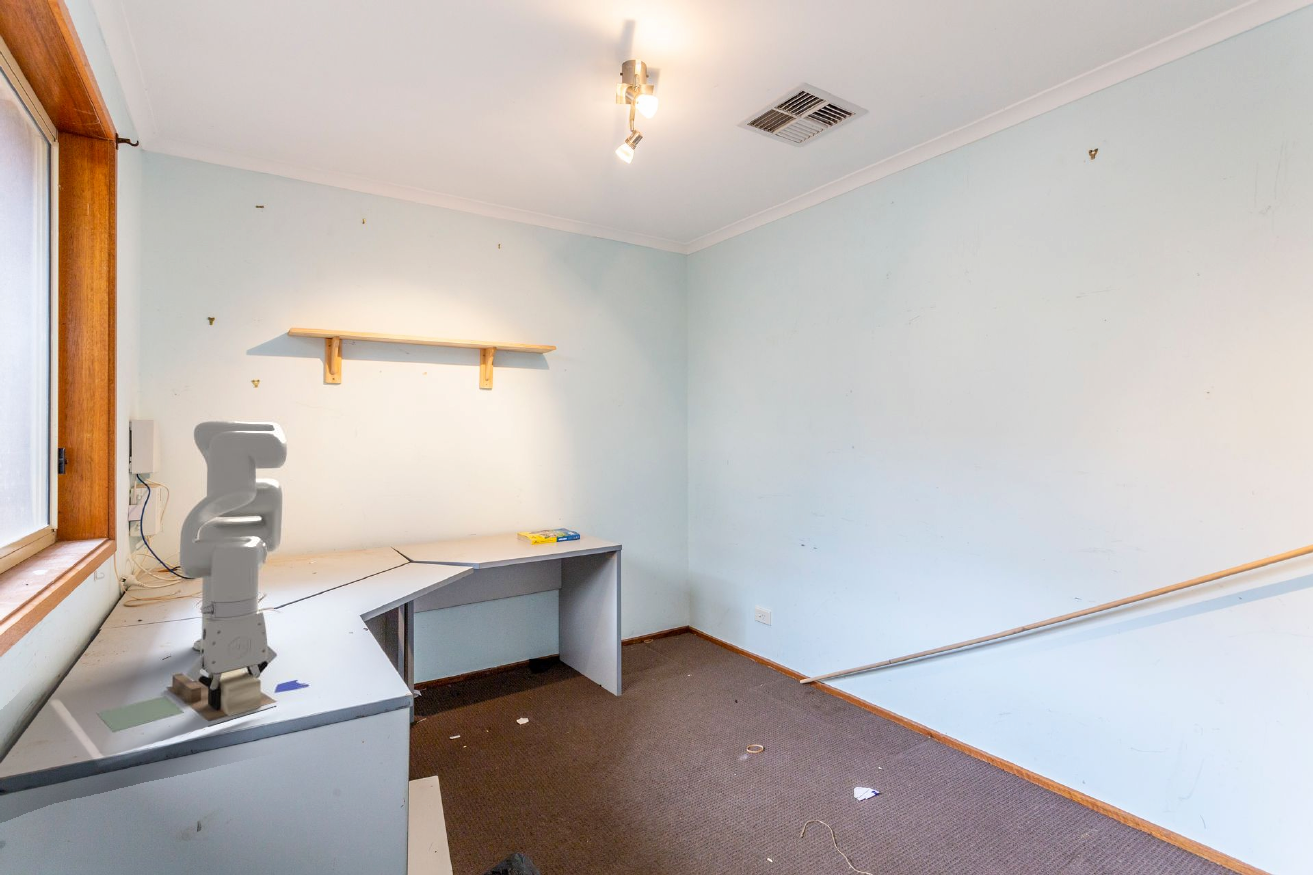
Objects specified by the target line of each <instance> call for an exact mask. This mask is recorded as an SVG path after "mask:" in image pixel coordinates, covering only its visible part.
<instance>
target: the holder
mask: <svg viewBox="0 0 1313 875" xmlns="http://www.w3.org/2000/svg"><path fill="white" fill-rule="evenodd" d="M225 673H226V672H225ZM171 677H172V680H171V681H172V683H171V685H172V686H168V687H166V689H168V690H169V691H170V692H171V693H172V694H174V696H176V697H177V698H179V699H180V700H181V701H182V702H184V703H185V704H186V705H187V706H189V707H190V708H191V709H193V711H195V712H196V713H197V714H199V715H200V716H201V717H202V718H204V719H205V720H206V721H208V722H212V721H216V720H219V719H223V718H225V717H229V716H228V715H227V714H226V713H224V712H223V711H222V710H220V709H219V710H215V709H213V708H212V707H211V706H209V705H208V687H207V686H205V685H204V684H202V683H200V682H198V681H195V680H193V679H191V678H189V677H187V676H186V675H185V674H183V672H181V673H177V674H174V675H172V676H171ZM276 702H277V701H276V700H275V699H274V698H272V697H271V696H268V695H267V694H265V692H262V691H260V707H264V706H267V705H270V704H273V703H276ZM273 708H277V705H274V706H270V707H267V708H264V709H260V710H257V711H254V712H251V713H246V714H244V715H240V716H236V717H234V718H231V719H227V720H224V721H221V722H217V723H215V724H211V725H208V726H207V727H208V728H210V727H213V726H216V725H220V724H222V723H225V722H226V723H227V722H229V721H233V720H236V719H240V718H243V717H246V716H250V715H252V714H256V713H259V712H263V711H266V710H271V709H273Z"/></svg>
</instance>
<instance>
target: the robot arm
mask: <svg viewBox="0 0 1313 875" xmlns="http://www.w3.org/2000/svg"><path fill="white" fill-rule="evenodd" d="M193 438H194V443H195V445H196V447H197V449H198V450H199V452H200V453H201V454H202V457H203V458H204V460H205V463H206V469H207V470H206V473H207V474H206V475H207V476H206V496H205V497H204V498H202V500H200V501H199V502H198V503H197V504H196V505H195V506H194V507H193V508H192V509H191V510H190V512H189V513H188V514H187V515H186V517H185V518H184V520H183V523H182V526H181V531H180V540H179V541H180V542H179V544H180V545H179V567H180V571H181V572H182V574H183V575H184V576H185V577H187V578H190V579H202V591H201V593H202V594H201V596H202V598H201V600H202V601H201V602H202V603H201V605H202V606H201V609H200V610H201V638H199V639H197V640H196V641H195V642H194V643H193V649H195V650H196V651H200V654H199V657H198V659H197V660H196V661H195V662H194V663H193V665H192V666H191V667H190V668H189V669H188V671H187V672H186V675H185V676H186V677H188V678H189V679H190V680H192V681H198V682H200V683H202V684H204V685H205V686H207V687H208V705H209V706H211V707H212V708H213V709H215V710H219V709H220V708H221V689H220V688H219V681H220V678H221V675H222V673H225V672H230V671H234V670H238V669H242V670H243V669H246V672H247V673H249V674H250V675H252V676H254V677H255V678H257V679H258V678H261V674H262V673H263V672H264V670H265V669H266V668H267V667H268V666H269V665H270V663H271V662H273V660H275V659H276V658H277V656H278V654H277V653H276V652H275V651H274V650H273V648H271V647H270V646H269V645H268V636H267V628H266V627H267V626H266V619H265V615H264V612H263V610H259V608H258V607H259V571H260V570H261V569H262V567H263V565H264V564H266V562H267V558H268V554H269V553H273V552H275V551H276V550H277V549H278V548H279V547H280V545H281V543H280V542H281V537H282V520H283V519H282V518H283V516H282V515H283V490H282V487H281V484H279V482H278V481H277V480H275V479H271V478H257V472H256V470H258V469H279V468H281V467H283V466H284V464H285V463H286V460H287V455H288V453H287V452H288V447H287V441H286V438H285V435H284V433H283V431H282V428H281V427H280V425H279V424H277V423H274V422H259V421H258V422H253V421H252V422H250V421H249V422H247V421H228V420H227V421H224V420H221V421H219V420H218V421H217V420H216V421H214V420H213V421H204V422H200V423H198V424H197V425H196V426H195V428H194V430H193ZM217 517H218V518H219V519H215V518H217ZM213 519H214V520H213ZM202 670H205V673H207V676H206V675H205V674H202V673H200V672H201V671H202Z"/></svg>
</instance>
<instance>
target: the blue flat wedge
mask: <svg viewBox="0 0 1313 875" xmlns="http://www.w3.org/2000/svg"><path fill="white" fill-rule="evenodd" d="M298 681H299V680H298V679H294V680H290V681H285V682H282V683H278V684H276V687H275V690H274V694H277V693H283V692H289V691H290V692H291V691H296V690H302V689H303V690H304V689H305V688H309V687H310V684H309V683H308V684H306V683H305V682H304V683H300V682H298Z"/></svg>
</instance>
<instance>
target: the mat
mask: <svg viewBox="0 0 1313 875" xmlns="http://www.w3.org/2000/svg"><path fill="white" fill-rule="evenodd" d="M184 713H185V712H184V711H183V710H182V709H181V708H180V707H179V706H178V705H177V704H175V703H174V702H173V701H171V699H169V698H168V697H167V696H166V695H164V696H159V697H155V698H151V699H148V700H143V701H140V702H135V703H132V704H128V705H124V706H120V707H117V708H112V709H108V710H104V711H100V712H97V716H98V717H99V718H101V720H102V721H103V722H104V723H105V725H106V726H108V728H109V729H110V730H111V732H113V733H115V732H119V731H122V730H126V729H129V728H133V727H137V726H141V725H145V724H148V723H151V722H156V721H158V720H162V719H166V718H169V717H172V716H176V715H180V714H184Z"/></svg>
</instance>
